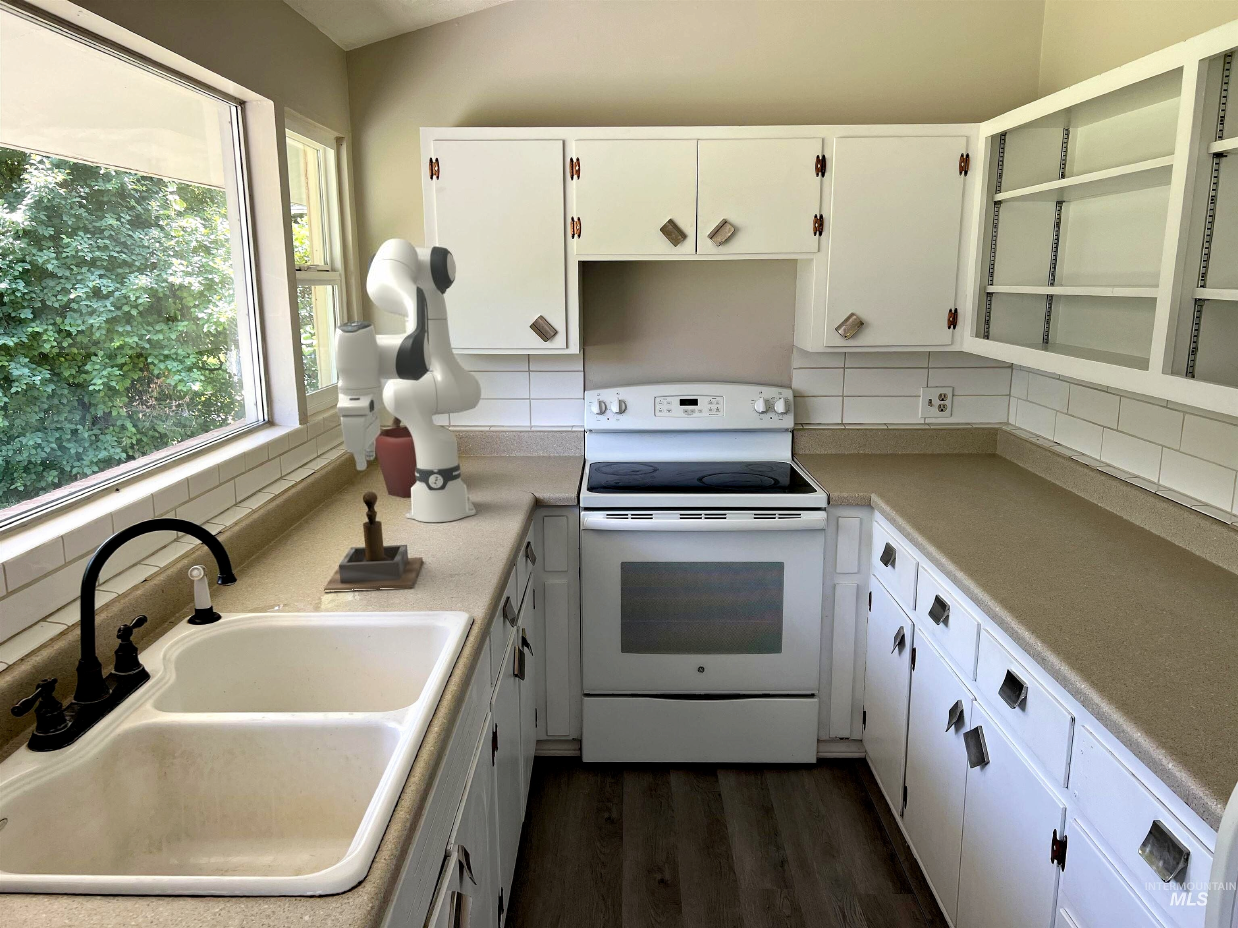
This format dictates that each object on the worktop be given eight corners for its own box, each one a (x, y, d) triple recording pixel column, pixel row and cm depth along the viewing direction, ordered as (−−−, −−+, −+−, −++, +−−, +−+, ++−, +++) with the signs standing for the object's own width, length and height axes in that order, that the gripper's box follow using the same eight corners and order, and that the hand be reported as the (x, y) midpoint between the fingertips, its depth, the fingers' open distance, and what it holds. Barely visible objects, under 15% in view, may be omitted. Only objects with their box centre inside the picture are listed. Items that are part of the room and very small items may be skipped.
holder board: (342, 565, 201) (341, 544, 200) (422, 561, 202) (421, 540, 201) (324, 592, 183) (321, 570, 182) (411, 588, 185) (410, 565, 184)
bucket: (461, 495, 263) (456, 412, 257) (386, 505, 253) (379, 419, 248) (440, 479, 284) (435, 402, 279) (371, 487, 275) (364, 408, 270)
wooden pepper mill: (380, 564, 198) (373, 487, 194) (398, 570, 194) (391, 490, 190) (354, 572, 192) (347, 493, 189) (372, 578, 188) (365, 497, 185)
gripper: (355, 393, 194) (360, 454, 198) (334, 408, 175) (340, 476, 178) (384, 392, 195) (389, 453, 198) (367, 407, 175) (372, 475, 178)
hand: (366, 464), depth 188 cm, fingers open, 8 cm apart
